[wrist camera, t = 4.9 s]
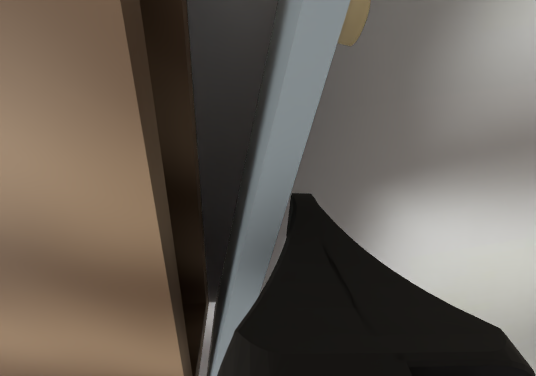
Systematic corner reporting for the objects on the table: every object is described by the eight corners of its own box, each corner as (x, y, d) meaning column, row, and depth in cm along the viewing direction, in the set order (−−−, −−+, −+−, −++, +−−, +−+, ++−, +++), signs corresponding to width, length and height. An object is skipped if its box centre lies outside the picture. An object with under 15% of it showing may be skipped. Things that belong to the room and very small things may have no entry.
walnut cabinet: (208, 303, 18) (191, 423, 13) (31, 304, 17) (-64, 432, 12) (180, -88, 9) (81, -227, 4) (-195, -120, 8) (-975, -351, 3)
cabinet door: (245, 309, 18) (243, 421, 13) (215, 306, 17) (201, 419, 13) (349, -56, 9) (458, -129, 4) (293, -73, 9) (345, -172, 4)
